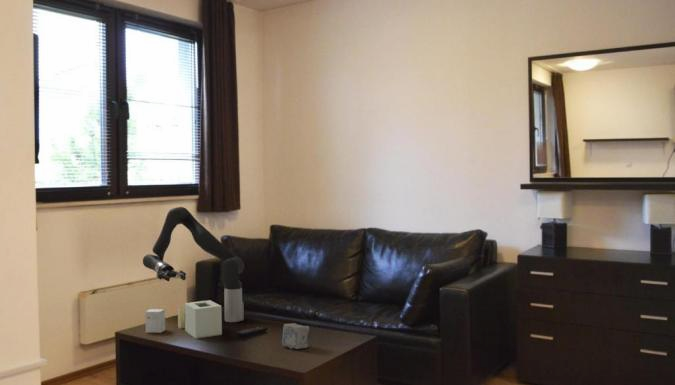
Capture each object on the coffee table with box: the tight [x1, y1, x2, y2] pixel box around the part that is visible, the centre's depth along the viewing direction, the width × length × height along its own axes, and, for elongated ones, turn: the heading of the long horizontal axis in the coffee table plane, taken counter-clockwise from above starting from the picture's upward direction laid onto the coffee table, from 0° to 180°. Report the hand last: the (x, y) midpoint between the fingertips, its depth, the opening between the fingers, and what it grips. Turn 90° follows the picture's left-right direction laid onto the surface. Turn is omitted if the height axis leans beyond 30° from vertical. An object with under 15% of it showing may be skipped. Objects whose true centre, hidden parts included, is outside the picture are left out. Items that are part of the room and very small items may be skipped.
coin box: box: [184, 299, 223, 340], centre depth 295 cm, size 13×16×14 cm
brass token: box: [177, 306, 185, 330], centre depth 305 cm, size 2×3×10 cm
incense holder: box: [281, 322, 310, 350], centre depth 269 cm, size 10×8×10 cm
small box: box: [144, 308, 166, 334], centre depth 298 cm, size 8×6×10 cm
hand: (176, 279), depth 311 cm, fingers open, 8 cm apart
